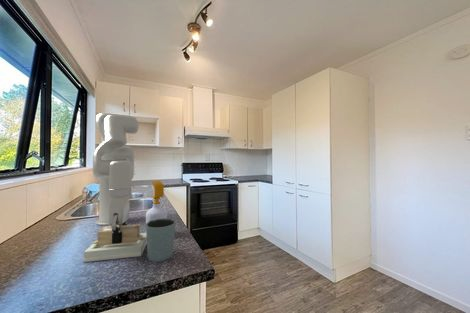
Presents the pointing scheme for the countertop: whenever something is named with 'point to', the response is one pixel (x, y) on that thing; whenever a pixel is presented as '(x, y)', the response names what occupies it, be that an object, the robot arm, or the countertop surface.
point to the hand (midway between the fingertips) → (120, 239)
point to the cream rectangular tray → (115, 250)
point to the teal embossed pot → (160, 239)
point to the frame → (128, 234)
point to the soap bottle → (156, 203)
